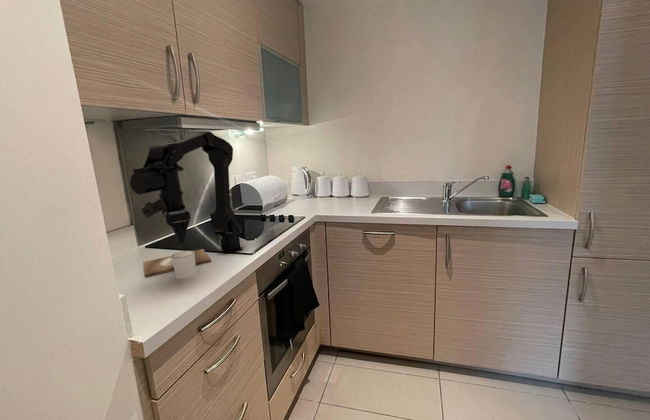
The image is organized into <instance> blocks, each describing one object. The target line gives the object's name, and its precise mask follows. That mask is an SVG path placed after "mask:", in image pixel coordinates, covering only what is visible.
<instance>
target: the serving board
mask: <svg viewBox="0 0 650 420" xmlns="http://www.w3.org/2000/svg"><path fill="white" fill-rule="evenodd" d="M193 251H194V252H195V266H200V265H203V264H208V263H211V262H212V259H211V257H210V256H209V254H208V253H207V252H206V250H205V249H204V248H201V249H196V250H193ZM171 256H172V255H168V256H165V257H159V258H156V259H150V260H146V261H143V263H142V265H143V272H144V274H143V275H144V278H146V279H147V278H151V277H154V276H159V275H163V274H166V273H167V274H168V273H170V272H175V271H174V267H173V264H172V260H171Z"/></svg>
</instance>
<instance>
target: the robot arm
mask: <svg viewBox="0 0 650 420" xmlns="http://www.w3.org/2000/svg"><path fill="white" fill-rule="evenodd" d="M199 148H201V150H202V151H203V152H204V153H206V155H207V157H208V161H209V162H210V164H211V165H212V167H213V174H214V177H213V178H214V193H215V194H214V196H215V209H214V211H213V212H211V213H210V215H209V216H210V226H211V228H212V230H213V231H214V234H215V236H219V239H218V242H219V248H220V251H221V252H223V254H229V253H233V252H234V253H235V252H237V251H242V250H243V247H241V240H240V235H241V234H242V233H243V226H242V225H241V224H240V223H239V222H238V221H237V217H236V213H235V211H234V210H233V208H232V207H231V191H230V190H231V189H230V173H229V172H230V171H229V167H230V165H231V164H232V162H233V157H234V156H233V155H234V154H233V153H234V149H233V146H232V145H231V144H230V142H229V141H227V140H225V139H224V138H221V137H219V136H217V135H215V134H214V133H213V132H211V131H209V130H208V131H199V132H197V133H196V134H193V135H190V136H188V137H185V138H182V139H180V140H178V141H174V142H170V143H162V144H153V145H151V146H150V147H149V148H148V154H147V156H146V159H145V162H144V165H143V166H142V167H140V168H139V167H137V168H133V169H132V170H133V171H132V172H133V174H131V177H130V178H129V179H130V181H129V186H130V188H131V190H132V191H133V192H134V193H135V194H137V195H145V194H149V193H155V192H159V193H158V197H157V198H155V199H153V200H151V201H150V200H149V201H147V202H145V203H144V204H143V205H141V206H140V207H139V209H140V212H142V214H143V215H144V217H145V219H149V218H151V217H152V216H153V215H155V214H157V213H159V212H161V213H160V214H161V215H162V217H163V218H164V222H165V223H166V225H168V226H170V227H171V228H172V231H173V233H174V235H175V236H174V237H176V238H177V240H178V243H179V244H183V243H184V242H185V238H186V235H187V232H188V231H187V230H188V227H189V225H190V221H191V219H192V218H191V214H190V213H191V212H190V211H188V210H187V209H186V206H185V205H186V204H185V203H184V197H183V195H184V193H183V190H182V186H181V180H180V175H179V172H180V171H184V167H182V166H181V165H179V164H178V163H179V162H180V161H181V160H182V159H183V158H184V156H185V155H187V154H188V153H190V152H192V151H195V150H197V149H199Z"/></svg>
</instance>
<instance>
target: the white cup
mask: <svg viewBox="0 0 650 420" xmlns="http://www.w3.org/2000/svg"><path fill="white" fill-rule="evenodd" d="M194 251H195V250H182V251H179V252H175V253H174V254H171V255H170V256H171V260H172V264H173V267H174V271H173V272H174V273H175V278H176V279H177V280H188V279H191V278H192V277H195V276H196V275H197V270H196V269H197V267H196V266H197V265H196V266H195V252H194Z"/></svg>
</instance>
